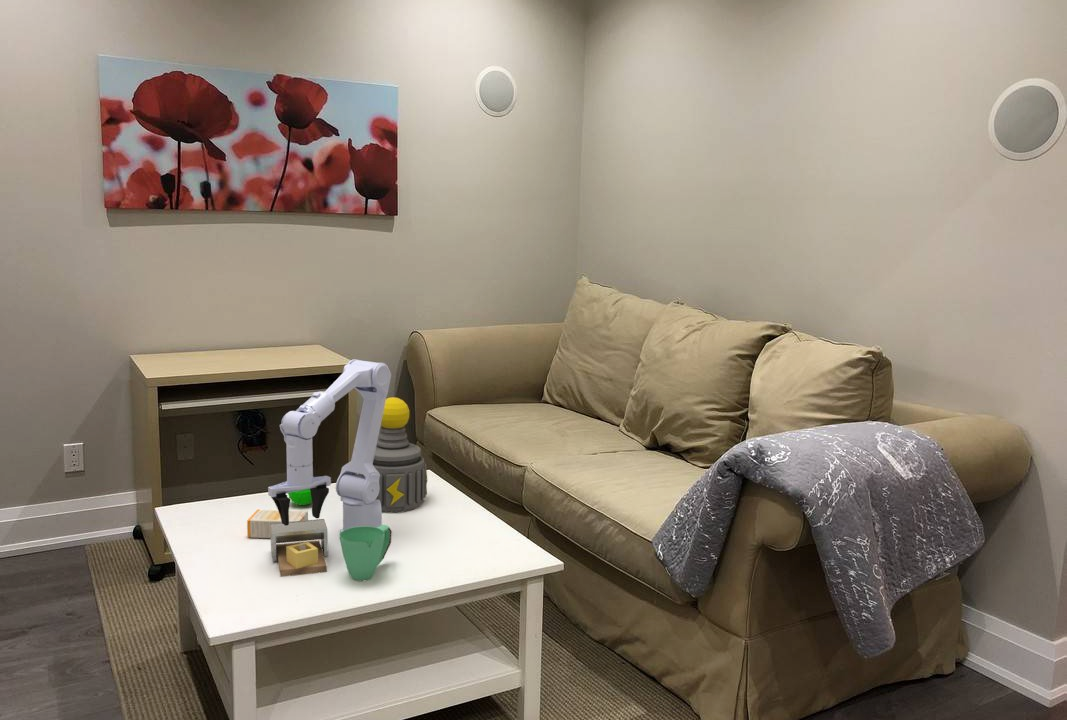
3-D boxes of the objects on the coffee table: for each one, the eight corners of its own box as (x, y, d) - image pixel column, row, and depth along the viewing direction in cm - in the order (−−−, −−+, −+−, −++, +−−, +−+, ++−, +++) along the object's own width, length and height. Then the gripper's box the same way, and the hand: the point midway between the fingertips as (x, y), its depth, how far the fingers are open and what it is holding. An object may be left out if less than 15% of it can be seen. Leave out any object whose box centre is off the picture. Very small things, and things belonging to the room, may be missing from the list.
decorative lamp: (360, 515, 237) (360, 405, 232) (356, 493, 255) (356, 391, 250) (430, 511, 241) (431, 404, 237) (421, 490, 259) (423, 390, 255)
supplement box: (246, 538, 218) (300, 540, 218) (246, 519, 217) (299, 521, 217) (257, 526, 226) (308, 528, 226) (257, 508, 225) (308, 510, 225)
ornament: (292, 499, 248) (291, 465, 246) (321, 500, 248) (321, 465, 246) (284, 509, 240) (283, 473, 238) (314, 510, 240) (313, 474, 238)
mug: (366, 589, 191) (366, 545, 190) (330, 579, 196) (330, 536, 194) (405, 566, 204) (406, 524, 202) (371, 557, 208) (371, 517, 207)
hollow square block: (307, 556, 204) (307, 541, 204) (318, 563, 200) (318, 548, 200) (286, 561, 201) (286, 546, 200) (296, 568, 197) (296, 553, 197)
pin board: (319, 546, 214) (318, 524, 214) (326, 571, 200) (326, 548, 199) (276, 550, 211) (275, 528, 210) (280, 576, 196) (280, 553, 195)
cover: (324, 545, 214) (324, 518, 213) (327, 556, 208) (327, 528, 207) (271, 550, 210) (270, 523, 209) (272, 561, 204) (272, 533, 203)
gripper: (320, 454, 209) (321, 509, 211) (261, 464, 200) (263, 522, 202) (335, 461, 204) (335, 517, 206) (275, 472, 194) (276, 531, 197)
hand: (300, 520), depth 204 cm, fingers open, 7 cm apart
